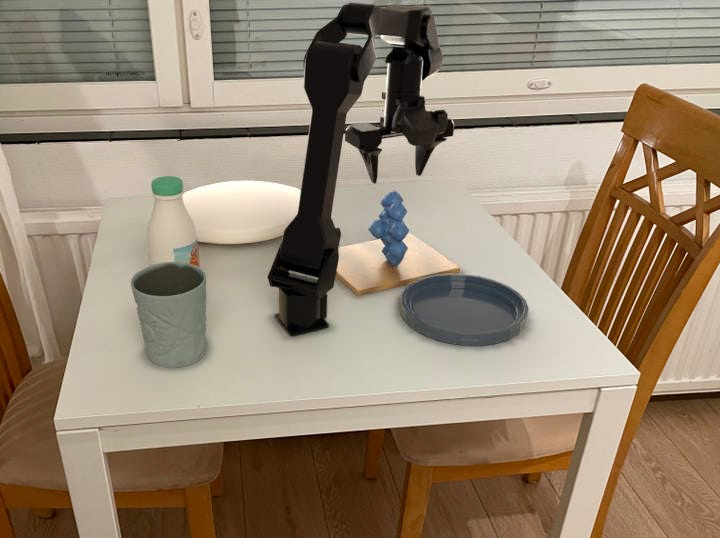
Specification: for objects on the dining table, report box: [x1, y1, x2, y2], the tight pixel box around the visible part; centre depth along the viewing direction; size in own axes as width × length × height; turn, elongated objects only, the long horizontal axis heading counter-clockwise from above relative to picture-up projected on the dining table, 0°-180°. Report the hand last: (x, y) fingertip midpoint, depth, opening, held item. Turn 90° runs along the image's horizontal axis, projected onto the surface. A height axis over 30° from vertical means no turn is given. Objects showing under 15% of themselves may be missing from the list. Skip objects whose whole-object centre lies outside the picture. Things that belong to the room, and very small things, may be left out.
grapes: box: [368, 190, 410, 266], centre depth 128 cm, size 12×7×12 cm, turn 6°
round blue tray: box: [399, 273, 529, 347], centre depth 117 cm, size 19×19×2 cm
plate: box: [182, 180, 301, 245], centre depth 145 cm, size 28×6×27 cm
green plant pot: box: [130, 262, 207, 369], centre depth 105 cm, size 10×10×12 cm
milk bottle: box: [146, 175, 201, 268], centre depth 116 cm, size 8×8×20 cm
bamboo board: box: [335, 232, 461, 297], centre depth 132 cm, size 20×16×1 cm
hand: (396, 179), depth 134 cm, fingers open, 9 cm apart
